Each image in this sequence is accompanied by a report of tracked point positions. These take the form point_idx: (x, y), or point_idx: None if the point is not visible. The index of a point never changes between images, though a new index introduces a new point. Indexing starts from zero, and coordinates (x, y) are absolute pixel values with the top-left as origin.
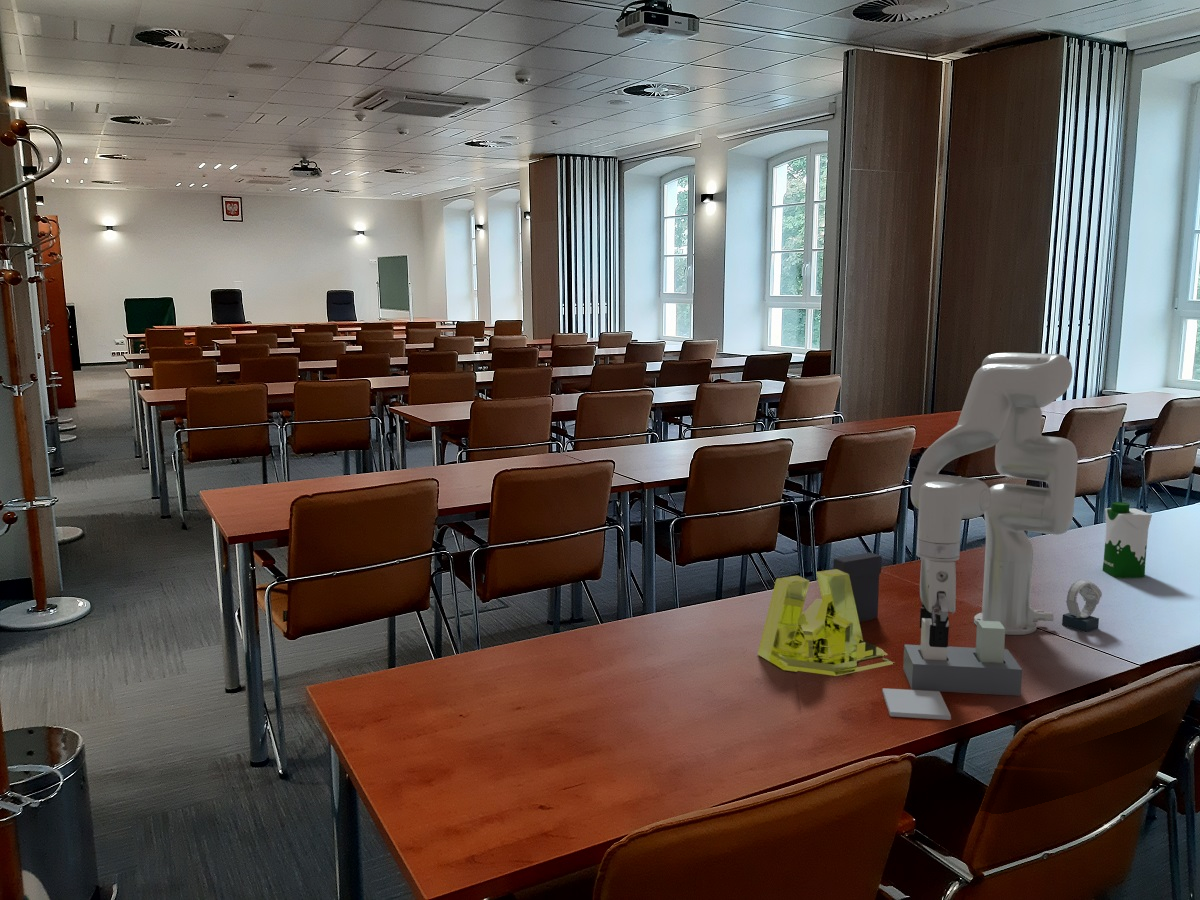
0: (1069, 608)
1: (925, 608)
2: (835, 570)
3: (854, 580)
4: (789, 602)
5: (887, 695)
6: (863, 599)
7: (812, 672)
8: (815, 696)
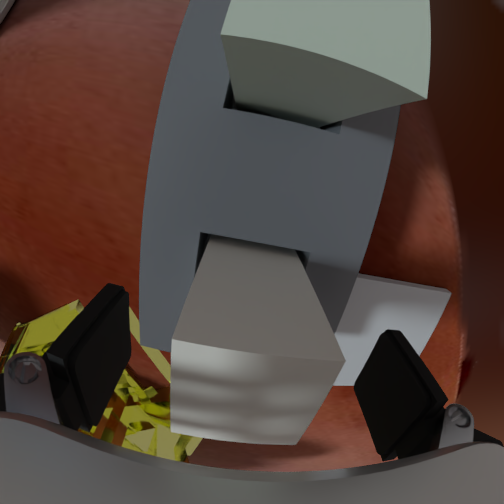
0: None
1: (81, 421)
2: None
3: None
4: None
5: (343, 382)
6: None
7: (201, 438)
8: (299, 446)
